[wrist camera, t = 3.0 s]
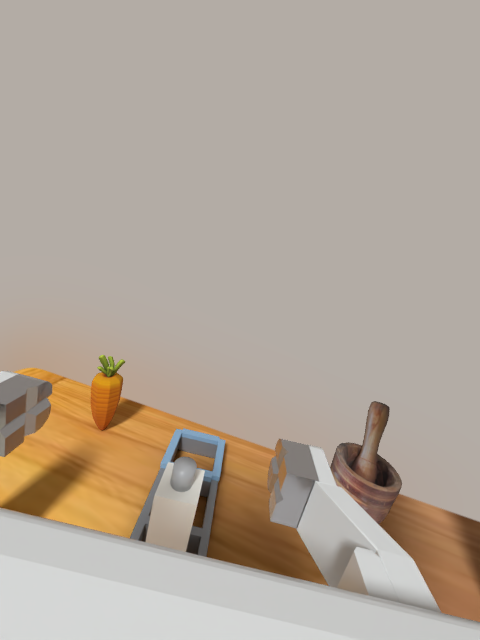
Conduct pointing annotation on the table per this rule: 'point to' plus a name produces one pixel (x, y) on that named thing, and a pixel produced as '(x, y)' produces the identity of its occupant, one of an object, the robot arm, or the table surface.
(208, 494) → the ladder grid frame
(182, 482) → the capped white pillar
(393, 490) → the mortar and pestle
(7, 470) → the table surface
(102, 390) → the carrot
